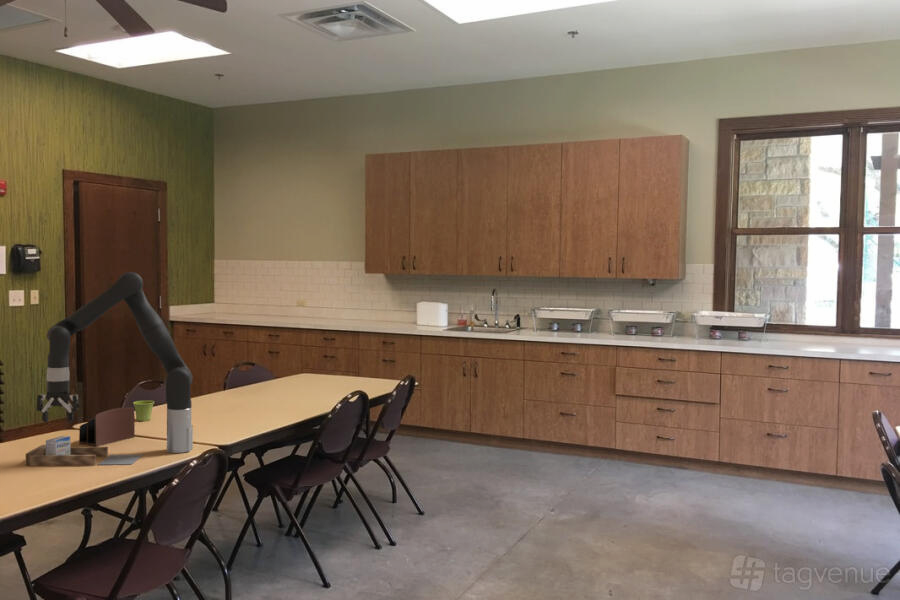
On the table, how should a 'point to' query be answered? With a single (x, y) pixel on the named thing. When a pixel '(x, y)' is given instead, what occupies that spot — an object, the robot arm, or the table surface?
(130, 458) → the slate mat
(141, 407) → the plant pot
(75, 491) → the table surface
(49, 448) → the medicine box
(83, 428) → the letter holder
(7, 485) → the table surface
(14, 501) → the table surface
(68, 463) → the frame
